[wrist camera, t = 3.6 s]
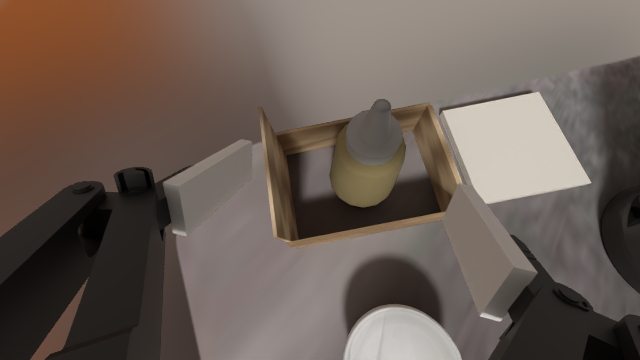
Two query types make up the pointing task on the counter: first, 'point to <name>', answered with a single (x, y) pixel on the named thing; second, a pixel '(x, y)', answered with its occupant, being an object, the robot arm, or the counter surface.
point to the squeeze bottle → (368, 156)
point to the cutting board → (512, 148)
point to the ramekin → (399, 336)
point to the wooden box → (325, 136)
